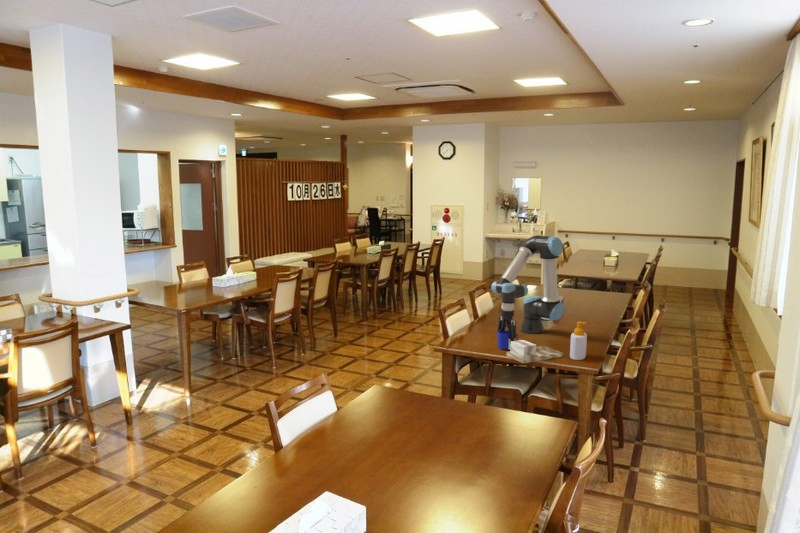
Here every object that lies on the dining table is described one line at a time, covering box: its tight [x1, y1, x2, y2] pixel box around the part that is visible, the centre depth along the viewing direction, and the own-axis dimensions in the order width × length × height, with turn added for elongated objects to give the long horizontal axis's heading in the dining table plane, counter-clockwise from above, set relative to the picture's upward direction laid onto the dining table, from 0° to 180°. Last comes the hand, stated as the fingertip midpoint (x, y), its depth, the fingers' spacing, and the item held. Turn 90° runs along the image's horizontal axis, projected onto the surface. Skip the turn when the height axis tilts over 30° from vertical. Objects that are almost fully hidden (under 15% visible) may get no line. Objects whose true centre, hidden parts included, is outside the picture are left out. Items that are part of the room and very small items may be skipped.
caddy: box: [505, 339, 564, 364], centre depth 311 cm, size 28×15×9 cm, turn 117°
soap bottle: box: [569, 321, 588, 361], centre depth 309 cm, size 13×8×20 cm, turn 148°
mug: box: [497, 329, 519, 351], centre depth 325 cm, size 8×12×10 cm
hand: (506, 347), depth 326 cm, fingers closed on mug, 8 cm apart
